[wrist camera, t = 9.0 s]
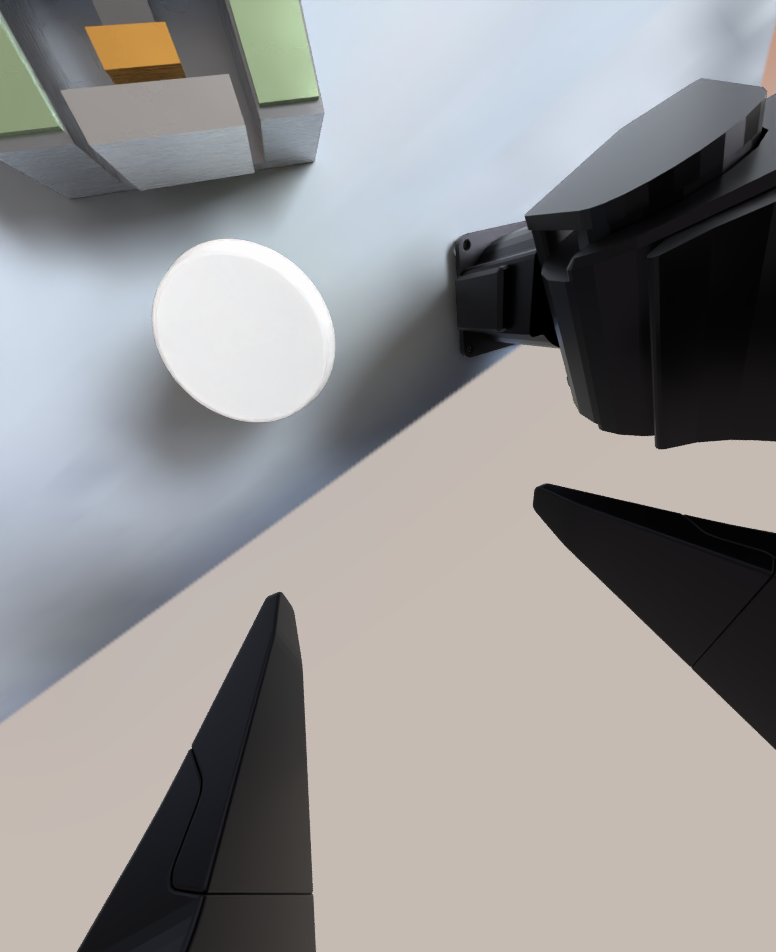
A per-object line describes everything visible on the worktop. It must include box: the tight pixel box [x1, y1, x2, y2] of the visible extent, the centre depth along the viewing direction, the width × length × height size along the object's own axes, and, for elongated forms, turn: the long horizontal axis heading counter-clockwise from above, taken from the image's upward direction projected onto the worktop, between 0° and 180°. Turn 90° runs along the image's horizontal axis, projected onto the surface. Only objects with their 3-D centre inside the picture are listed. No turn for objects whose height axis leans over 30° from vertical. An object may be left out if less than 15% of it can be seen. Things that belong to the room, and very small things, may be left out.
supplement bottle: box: [152, 239, 335, 423], centre depth 11 cm, size 5×5×10 cm
